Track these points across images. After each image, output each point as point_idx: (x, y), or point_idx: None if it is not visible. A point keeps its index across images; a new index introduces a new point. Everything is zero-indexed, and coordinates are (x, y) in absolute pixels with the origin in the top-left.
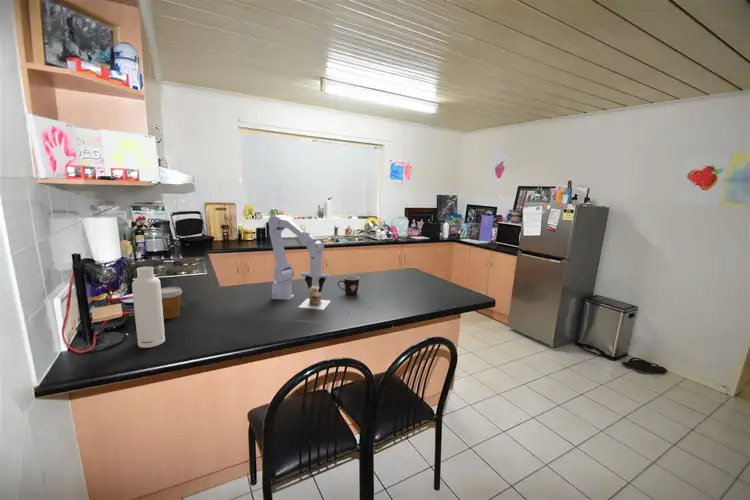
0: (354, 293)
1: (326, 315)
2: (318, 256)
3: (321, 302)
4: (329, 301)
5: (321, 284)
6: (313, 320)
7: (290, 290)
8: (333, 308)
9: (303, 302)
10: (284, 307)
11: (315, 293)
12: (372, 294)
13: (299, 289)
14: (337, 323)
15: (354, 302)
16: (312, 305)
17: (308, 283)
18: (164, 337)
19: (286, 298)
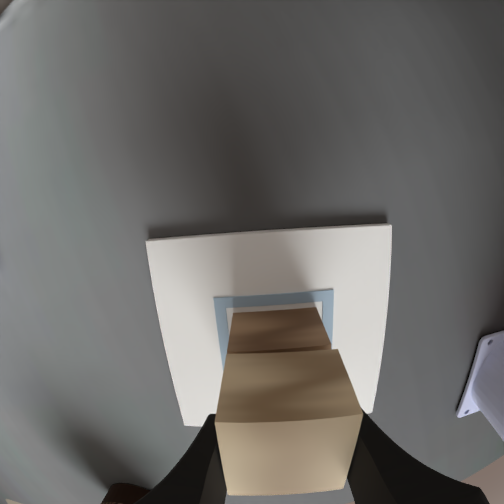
0: (106, 496)
1: (94, 156)
2: None
3: None
4: (186, 411)
5: (154, 492)
6: (156, 30)
7: (499, 405)
8: (106, 312)
9: (380, 337)
10: (477, 210)
11: (255, 377)
12: (67, 495)
13: None
14: (9, 76)
15: (61, 422)
16: (282, 300)
17: (400, 473)
18: None
19: (494, 349)
